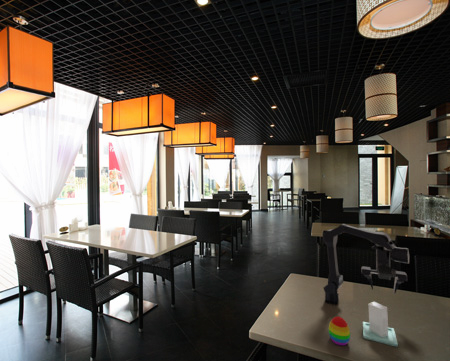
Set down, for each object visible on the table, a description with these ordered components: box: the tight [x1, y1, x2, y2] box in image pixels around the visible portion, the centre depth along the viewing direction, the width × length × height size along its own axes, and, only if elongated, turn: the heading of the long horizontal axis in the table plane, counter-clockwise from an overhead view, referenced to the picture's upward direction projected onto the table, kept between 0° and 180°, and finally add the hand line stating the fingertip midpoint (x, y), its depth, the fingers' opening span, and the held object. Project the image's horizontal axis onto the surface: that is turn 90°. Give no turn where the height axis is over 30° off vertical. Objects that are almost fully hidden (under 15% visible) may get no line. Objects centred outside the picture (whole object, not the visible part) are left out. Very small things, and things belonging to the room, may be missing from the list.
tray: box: [362, 321, 399, 348], centre depth 108 cm, size 12×12×1 cm
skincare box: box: [368, 301, 389, 338], centre depth 108 cm, size 6×4×12 cm
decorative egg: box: [328, 316, 351, 346], centre depth 103 cm, size 8×8×10 cm
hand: (383, 291), depth 122 cm, fingers open, 9 cm apart
